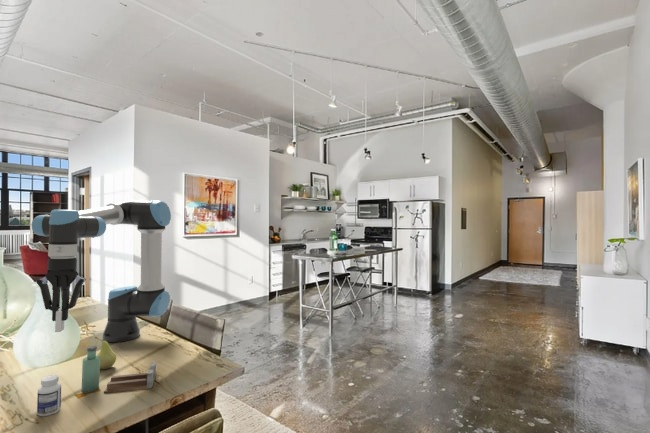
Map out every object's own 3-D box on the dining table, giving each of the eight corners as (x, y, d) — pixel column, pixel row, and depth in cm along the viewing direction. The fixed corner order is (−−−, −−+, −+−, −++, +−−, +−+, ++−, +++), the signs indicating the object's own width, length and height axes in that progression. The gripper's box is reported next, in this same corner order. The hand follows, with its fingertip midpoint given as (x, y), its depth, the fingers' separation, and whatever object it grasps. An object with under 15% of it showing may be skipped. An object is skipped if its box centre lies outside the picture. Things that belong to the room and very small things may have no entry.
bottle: (84, 386, 116) (85, 345, 116) (100, 384, 117) (102, 344, 117) (79, 393, 111) (80, 350, 111) (96, 391, 113) (98, 349, 113)
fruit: (111, 372, 127) (112, 339, 127) (88, 372, 126) (89, 339, 126) (119, 364, 133) (120, 333, 133) (97, 365, 132) (98, 333, 132)
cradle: (111, 380, 120) (111, 366, 120) (155, 376, 125) (156, 362, 125) (103, 393, 112) (104, 377, 112) (151, 388, 116) (152, 373, 116)
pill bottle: (45, 406, 103) (46, 373, 103) (64, 406, 104) (66, 373, 104) (32, 417, 98) (33, 382, 98) (52, 416, 98) (53, 382, 98)
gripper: (32, 258, 106) (29, 335, 106) (82, 258, 110) (79, 332, 110) (43, 256, 113) (40, 328, 113) (90, 256, 117) (87, 325, 117)
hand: (59, 330), depth 111 cm, fingers closed
